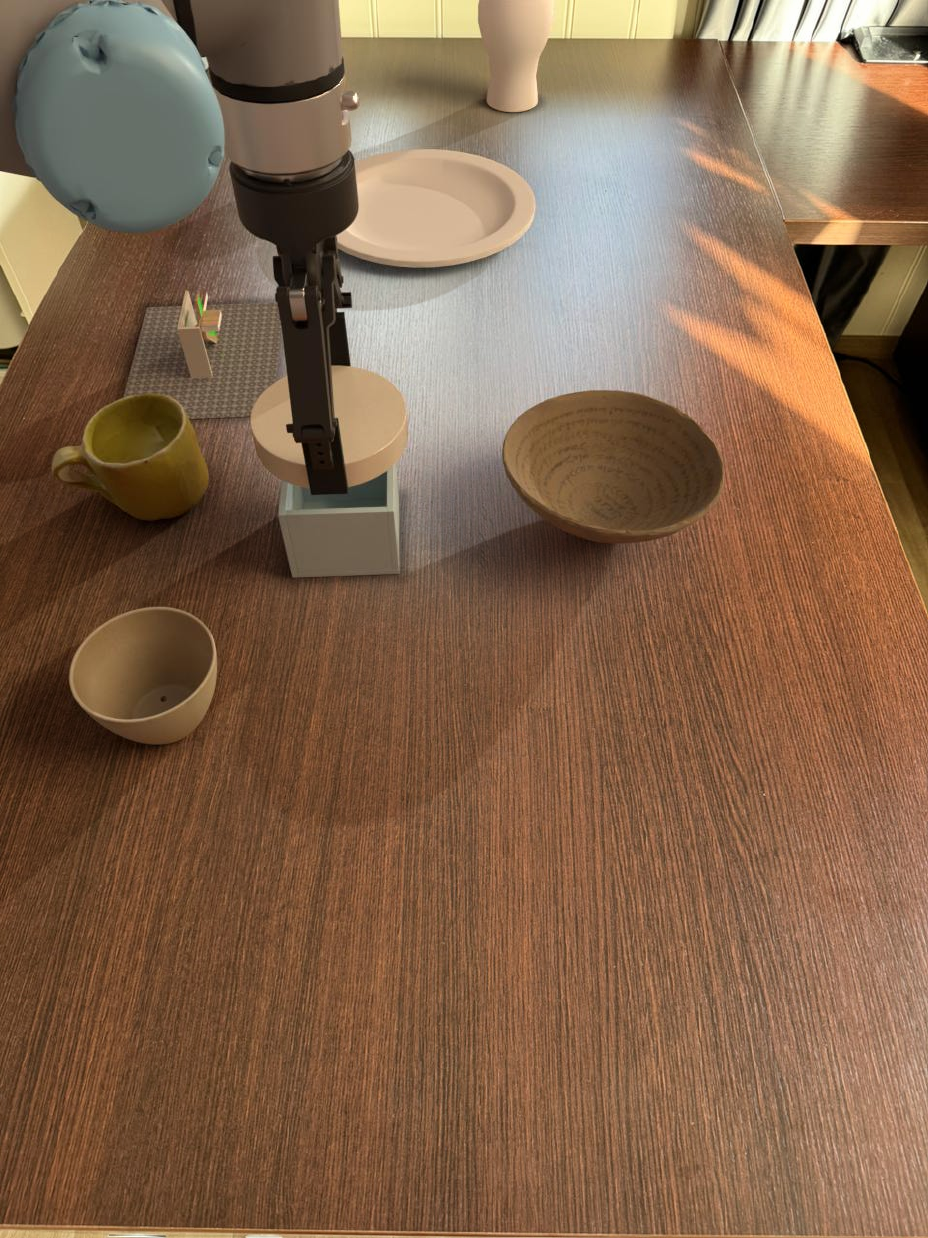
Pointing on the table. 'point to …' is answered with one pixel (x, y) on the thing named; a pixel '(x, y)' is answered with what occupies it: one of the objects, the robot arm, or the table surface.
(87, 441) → the mug
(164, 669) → the flower pot
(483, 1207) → the table surface
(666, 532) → the bowl
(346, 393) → the small plate
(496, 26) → the cup
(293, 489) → the container
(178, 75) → the robot arm
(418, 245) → the plate
